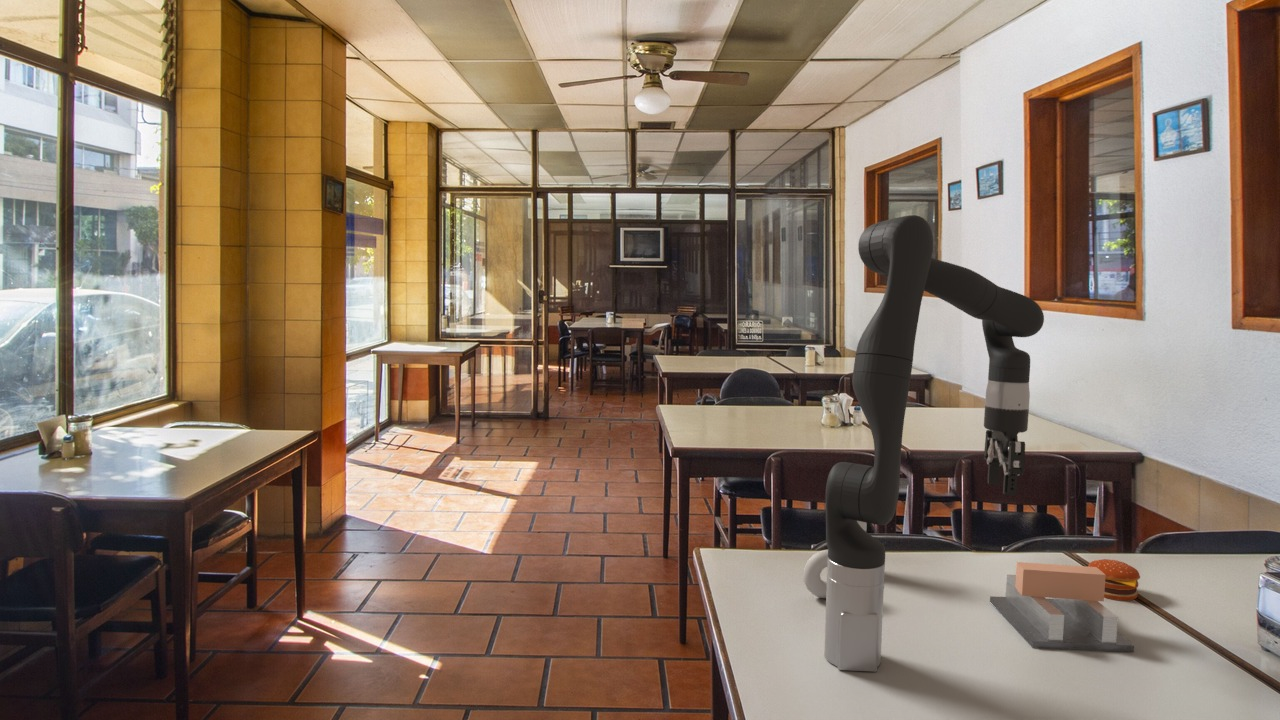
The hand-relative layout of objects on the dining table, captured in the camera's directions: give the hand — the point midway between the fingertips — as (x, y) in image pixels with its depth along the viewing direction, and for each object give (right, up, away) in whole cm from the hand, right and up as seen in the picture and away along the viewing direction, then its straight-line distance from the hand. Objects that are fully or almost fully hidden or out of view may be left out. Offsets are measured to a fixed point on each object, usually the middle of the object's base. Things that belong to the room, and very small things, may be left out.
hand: (1001, 489), depth 149 cm
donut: (-31, -24, +9) cm, 40 cm away
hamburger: (+29, -24, +14) cm, 40 cm away
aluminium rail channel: (+9, -25, -3) cm, 27 cm away
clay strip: (+9, -19, -3) cm, 21 cm away
